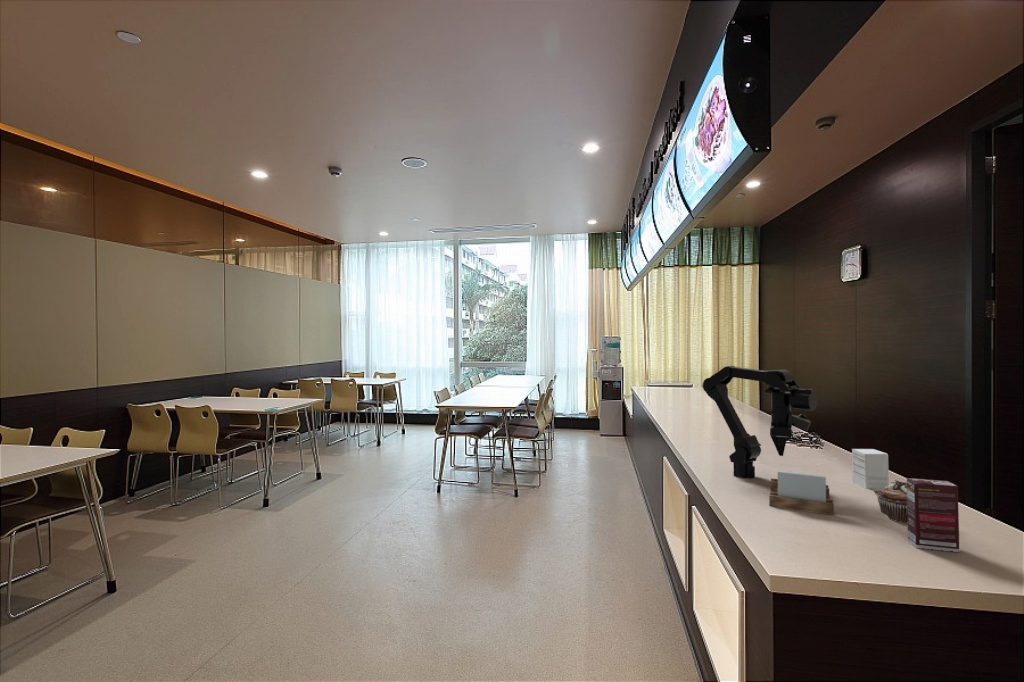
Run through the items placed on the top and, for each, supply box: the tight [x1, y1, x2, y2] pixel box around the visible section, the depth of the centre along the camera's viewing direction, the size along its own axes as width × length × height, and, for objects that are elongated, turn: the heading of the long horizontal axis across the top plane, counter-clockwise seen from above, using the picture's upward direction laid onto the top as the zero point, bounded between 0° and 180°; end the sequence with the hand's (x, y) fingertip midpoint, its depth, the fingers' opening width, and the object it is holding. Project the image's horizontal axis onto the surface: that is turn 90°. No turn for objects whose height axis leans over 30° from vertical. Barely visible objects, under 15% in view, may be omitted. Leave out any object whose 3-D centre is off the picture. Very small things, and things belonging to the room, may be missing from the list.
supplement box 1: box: [851, 448, 890, 492], centre depth 159 cm, size 7×7×13 cm
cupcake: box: [877, 479, 907, 523], centre depth 134 cm, size 10×10×10 cm
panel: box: [777, 470, 827, 502], centre depth 139 cm, size 12×2×10 cm, turn 60°
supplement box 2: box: [906, 477, 960, 553], centre depth 115 cm, size 9×5×16 cm, turn 71°
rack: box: [768, 477, 835, 516], centre depth 146 cm, size 16×20×4 cm
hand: (781, 452), depth 160 cm, fingers open, 9 cm apart
